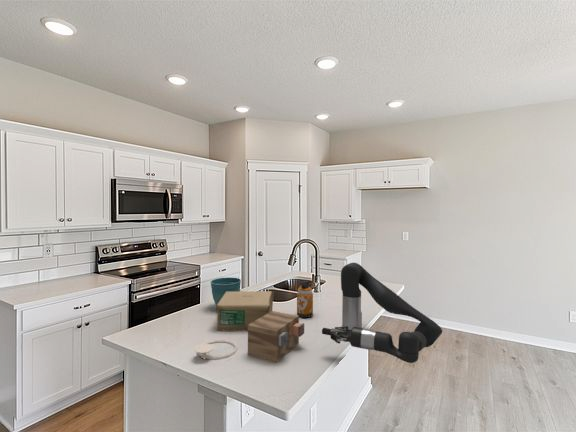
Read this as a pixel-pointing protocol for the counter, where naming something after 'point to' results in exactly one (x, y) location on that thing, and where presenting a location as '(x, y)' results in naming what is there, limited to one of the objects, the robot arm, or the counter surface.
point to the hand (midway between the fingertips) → (322, 330)
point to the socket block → (271, 335)
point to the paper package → (242, 309)
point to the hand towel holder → (209, 347)
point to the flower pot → (224, 287)
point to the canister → (305, 300)
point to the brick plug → (298, 329)
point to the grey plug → (283, 339)
